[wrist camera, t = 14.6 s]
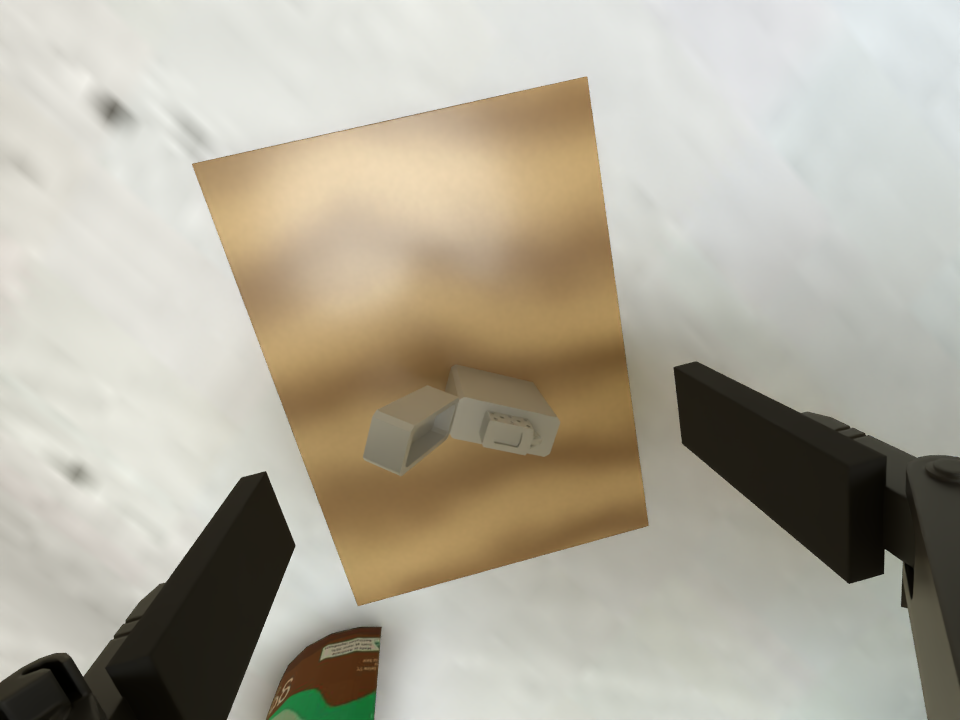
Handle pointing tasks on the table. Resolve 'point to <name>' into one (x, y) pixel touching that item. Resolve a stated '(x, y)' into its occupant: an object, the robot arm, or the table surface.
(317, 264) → the wooden board
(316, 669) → the food container
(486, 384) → the lighter
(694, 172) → the table surface
